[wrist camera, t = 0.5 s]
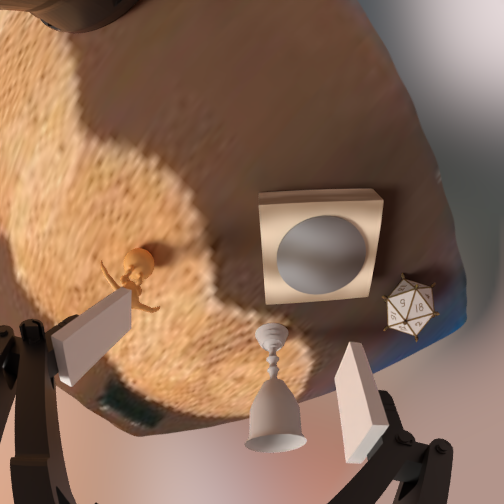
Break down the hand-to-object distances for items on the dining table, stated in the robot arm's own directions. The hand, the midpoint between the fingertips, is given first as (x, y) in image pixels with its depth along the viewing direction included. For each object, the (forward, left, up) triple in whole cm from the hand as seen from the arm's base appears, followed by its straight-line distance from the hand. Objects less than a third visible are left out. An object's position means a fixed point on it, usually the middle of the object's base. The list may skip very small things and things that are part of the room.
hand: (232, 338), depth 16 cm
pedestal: (+5, +8, -19) cm, 21 cm away
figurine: (+5, -13, -19) cm, 24 cm away
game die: (+14, +21, -19) cm, 32 cm away
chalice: (+21, +2, -19) cm, 29 cm away
